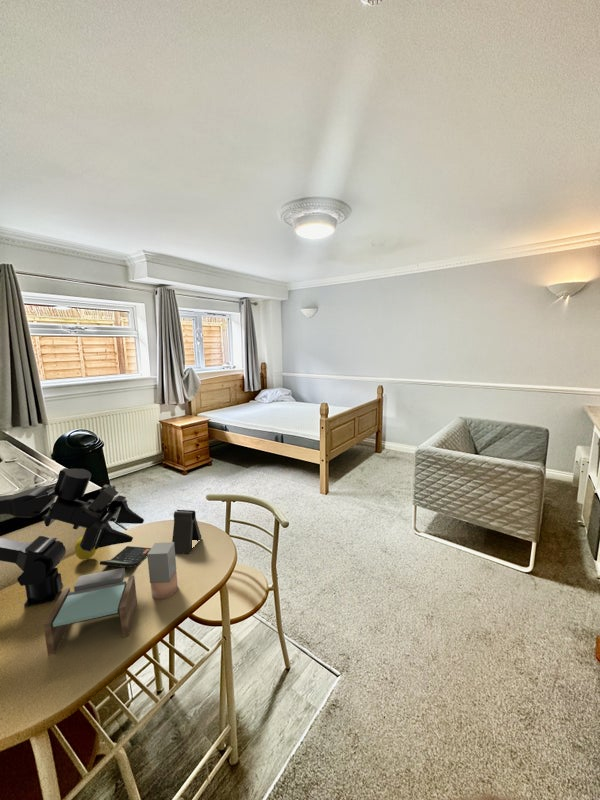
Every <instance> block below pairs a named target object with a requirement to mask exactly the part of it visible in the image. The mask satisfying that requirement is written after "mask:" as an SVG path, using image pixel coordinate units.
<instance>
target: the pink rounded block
mask: <svg viewBox="0 0 600 800" xmlns="http://www.w3.org/2000/svg"><path fill="white" fill-rule="evenodd" d="M177 574H178V573H177V570H176V571H175V573H174V575H173V577H172V579H171V581H170V582H166V583H150V590H151V591H150V592H151V596H152V597H153V599H156V600H164V599H166V598H170V597H172V596H173V595H174V594H175V593H176V592H177V591H178V587H179V585H178V575H177Z"/></svg>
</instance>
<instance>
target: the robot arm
mask: <svg viewBox="0 0 600 800" xmlns="http://www.w3.org/2000/svg"><path fill="white" fill-rule="evenodd" d="M91 477H92V473H91V472H90V471H89V470H88V469H85V468H67V467H63V469H61V470H60V471H59V473H58V477H57V479H56V480H57V481H56V483H55V485H52V486H48V485H47V486H46V485H39V486H35V487H32V488H28V489H25V490H23V491H19V492H18V493H17V492H16V493H12V494H5V495H0V515H1V516H2V515H10V516H13V517H16V518H34V517H36V516H38V515H40V514H41V513H42V512H44V511H45V510H47V509H48V508H49V509H48V512H47V513H46V514H44V515H43V516H42V517H41V518H42V519H43V521H44V525H45V527H50V526H51V525H52V524H53V523H54V522H55V521H58V522H62V523H66V524H69V525H72V530H78V529H79V528H84V529H85V531H84V533H83V536H82V537H83V538H82V541H81V543H80V547H81V548H82V550H84V551H88V552H91V551H92V550H93V548H94V547H95V550H96V551H97V550H98V549H101V548H105V547H109V546H113V545H120V544H126V543H131V542H133V539H134V536H131V535H129V534H127V533H124V532H121V531H119V530H116V529H114V528H112V526H111V525H110V523H109V522H114V523H115V524H132V525H133V524H134V525H138V524H144V521H145V519H144V518H143V517H142V516H140V515H139V514H137V513H135V511H133V510H132V509H130V508H129V506H128V500H127V496H124V495H120V494H119V491H117V489H116V486H115V485H111V484H104V485H103V486H102V487H101V488H100V489H99V491H98V492H99V493H100V494H99V495H97V497H96V498H95V499H88V500H87V501H83V500H79V498H80V499H81V498H82V497H84V496H85V493H86V492H87V491H86V490H87V488H88V485H89V482H90V480H91V479H92V478H91ZM118 494H119V495H118ZM95 545H96V546H95ZM66 551H67V549H66V545H64V543H63V542H62V541H61V540H57V537H48V536H45V535H38V536H37V537H36V538H35V539H34V540H33V541H29V542H25V541H21V540H20V541H19V540H16V539H15V540H14V539H9V538H4V537H0V562H5V563H6V562H7V563H10V564H16V566H17V567H19V568H20V570H21V571H22V573H21V574H20V575H19V576H18V577H17V579H16V580H17V582H18V583H19V585H20V586H21V587H23V586H24V587H25V594H26V601H25V602H24V604H23V606H24V607H30V606H36V605H40V604H44V603H49V602H53V601H55V600H56V598H57V597H58V595H59V593H60V592H61V590H62V588H63V586H64V584H63V581H62V574H61V573H60V572H59V569H58V566H57V565H59V564H60V563H61V560H62V559H63V558H64V557H65V555H66V553H67V552H66Z"/></svg>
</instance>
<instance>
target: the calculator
mask: <svg viewBox="0 0 600 800" xmlns="http://www.w3.org/2000/svg"><path fill="white" fill-rule="evenodd" d="M151 548H152V547H141V546H132V545H131V546H129V545H128V546H127V545H126V547H124V548H123V549H122V550H121V551H119V553H117V554H116V555H115V556H113V557H112V558H111V559H109V560H108V559H107V560H100V561H99V565H100V566H112V567H119V568H132V567H133V568H134V567H137V566H138V565H140V564H141V563H142V562H141V561H142V560H143V559H144V558H145V557H146V556H147V554H148V552H149V551H150V550H151ZM146 558H147V557H146ZM146 558H145V559H146ZM145 559H144V560H145ZM144 560H143V561H144ZM140 562H141V563H140Z"/></svg>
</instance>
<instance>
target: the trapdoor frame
mask: <svg viewBox="0 0 600 800" xmlns="http://www.w3.org/2000/svg"><path fill="white" fill-rule="evenodd" d="M135 579H136V578H135V574H134V575H129V576H128V577H127V581H126V583H127V584H126V587H125V591H124V594H123V597H122V600H121V604H120V607H119V610H118V612H119V618H120V619H119V621H120V627H121V635H122V636H121V637H122V638H126V637H129V635H130V630H131V628H132V623H133V619H134V615H135V610H136V606H137V602H138V598H137V589H136V580H135ZM69 592H71V589H70V587H66V588H63V590H62V591H61V593H60V595H59V596H58V598H57V600H56V602H55V603H54V605H53V607H52V609H51V610H50V612H49V614H48V615H47V617H46V619H45V621H44V623H43V630H44V637H45V645H46V651H47V656H52V655H54V654H56V652H57V650H58V648H59V647H60V644H61V641H62V640H63V638H64V635H65V634H66V631H67V629H68V628H69V625H70V623H69V624H65V625H60V626H56V627H53V622H54V620H55V619H56V617H57V615H58V613H59V611H60V609H61V607H62V606H63V604H64V602H65V600H66V598H67V596H68V593H69Z"/></svg>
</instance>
